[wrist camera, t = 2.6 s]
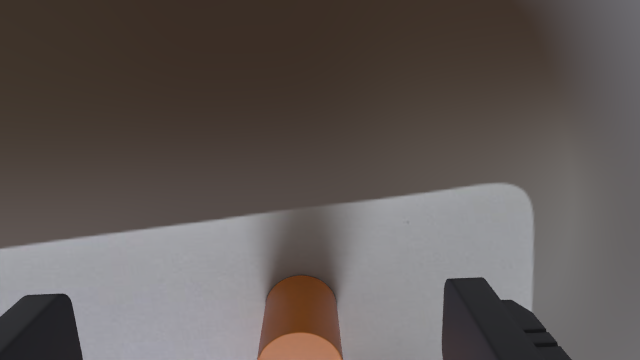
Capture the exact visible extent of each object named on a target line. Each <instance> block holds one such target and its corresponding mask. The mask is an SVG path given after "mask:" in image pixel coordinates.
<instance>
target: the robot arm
mask: <svg viewBox="0 0 640 360" xmlns="http://www.w3.org/2000/svg"><path fill="white" fill-rule="evenodd" d="M442 354H443V360H571V359H570V357H569V356H568V355H567V354H566V353H565V351H564V350H563V349H562V348H561V347H560V346H558V345H557V342H556V341H555V339H554V338H553V337H552V336H551V335H550V333H549V332H546V329H545V328H544V326H543V325H542V324H541V323H540V321H539V320H538V319H537V318H536V317H535V315H534V314H533V313H532V312H530V311H529V310H527V309H525V308H524V307H522V306H521V305H519V304H517V303H516V302H514V301H512V300H500V299H499V297H498V296H497V295H496V293H495V292H494V291H493V289H492V288H491V287H490V285H489V284H488V283H487V281H486V280H485V279H484V278H482V277H480V278H455V279H447V280H446V282H445V287H444V304H443V327H442ZM0 360H83V358H82V352H81V347H80V342H79V337H78V332H77V327H76V322H75V316H74V311H73V306H72V302H71V300H70V298H69V297H68V296H67V295H66V294H41V295H26V296H24V297H23V298H21V299H20V300H19V301H18V302H17V303H16V304H14V305H13V306H12V307H11V308H10V309H9V310H8V311H6V312H5V313H4V314H3V315H2V316H1V317H0Z"/></svg>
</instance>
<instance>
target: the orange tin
mask: <svg viewBox="0 0 640 360" xmlns="http://www.w3.org/2000/svg"><path fill="white" fill-rule="evenodd" d="M257 360H343V356H342V347H341V339H340V330H339V321H338V312H337V304H336V299H335V296H334V294H333V292H332V290H331V289H330V288H329V287H328V286H327V285H326V284H325V283H324V282H322V281H321V280H319V279H317V278H314V277H310V276H304V275H299V276H292V277H289V278H286V279H284V280H282V281H280V282H279V283H278V284H276V285H275V286H274V287H273V289H272V290H271V291H270V293H269V295H268V297H267V300H266V306H265V312H264V318H263V325H262V331H261V338H260V344H259V351H258V357H257Z"/></svg>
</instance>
